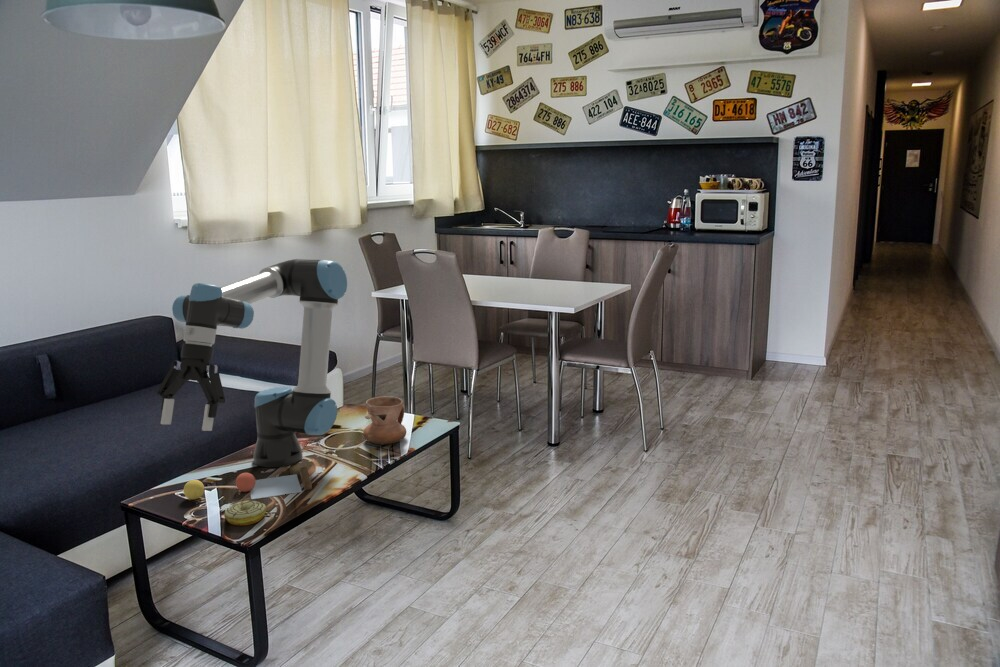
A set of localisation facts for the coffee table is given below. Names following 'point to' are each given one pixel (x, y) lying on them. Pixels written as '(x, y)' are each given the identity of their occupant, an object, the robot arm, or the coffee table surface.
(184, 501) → the coffee table surface
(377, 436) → the ceramic jug
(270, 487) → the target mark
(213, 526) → the coffee table surface
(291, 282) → the robot arm
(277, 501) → the coffee table surface
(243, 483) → the object ball
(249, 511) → the decorated donut
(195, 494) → the yellow ball
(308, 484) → the stopper strip
